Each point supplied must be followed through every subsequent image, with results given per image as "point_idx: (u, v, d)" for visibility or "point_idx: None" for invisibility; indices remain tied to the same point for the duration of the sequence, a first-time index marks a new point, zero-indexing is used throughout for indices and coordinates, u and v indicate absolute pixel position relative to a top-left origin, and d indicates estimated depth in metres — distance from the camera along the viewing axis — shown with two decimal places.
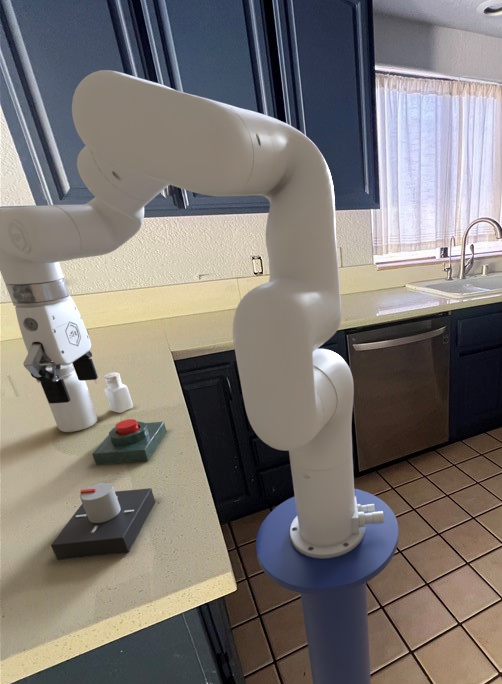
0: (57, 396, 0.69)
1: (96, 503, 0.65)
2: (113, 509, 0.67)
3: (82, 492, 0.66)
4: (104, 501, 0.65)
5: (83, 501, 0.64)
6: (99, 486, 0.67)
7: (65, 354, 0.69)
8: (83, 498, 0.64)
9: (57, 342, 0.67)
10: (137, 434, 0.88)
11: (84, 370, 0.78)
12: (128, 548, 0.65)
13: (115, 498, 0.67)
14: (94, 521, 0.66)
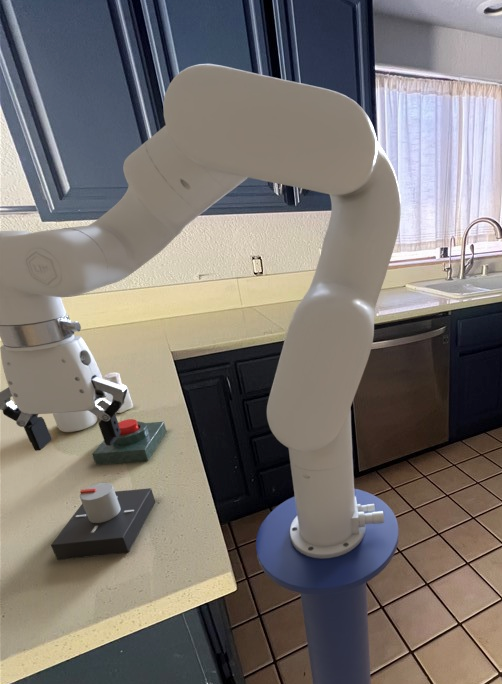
0: (119, 429, 0.64)
1: (96, 503, 0.65)
2: (113, 509, 0.67)
3: (82, 492, 0.66)
4: (104, 501, 0.65)
5: (83, 501, 0.64)
6: (99, 486, 0.67)
7: None
8: (83, 498, 0.64)
9: None
10: (137, 434, 0.88)
11: (42, 433, 0.62)
12: (128, 548, 0.65)
13: (115, 498, 0.67)
14: (94, 521, 0.66)
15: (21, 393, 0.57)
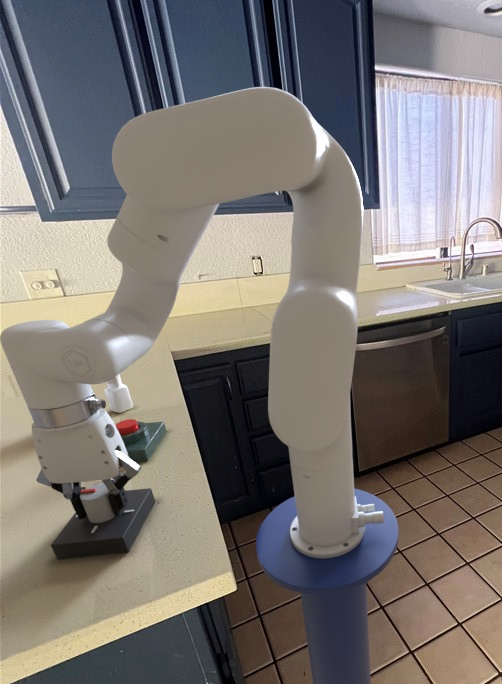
0: (127, 499, 0.68)
1: (96, 503, 0.65)
2: None
3: (82, 492, 0.66)
4: (104, 501, 0.65)
5: (83, 501, 0.64)
6: (99, 486, 0.67)
7: None
8: (83, 498, 0.64)
9: None
10: (137, 434, 0.88)
11: None
12: (128, 548, 0.65)
13: None
14: (94, 521, 0.66)
15: (50, 466, 0.61)
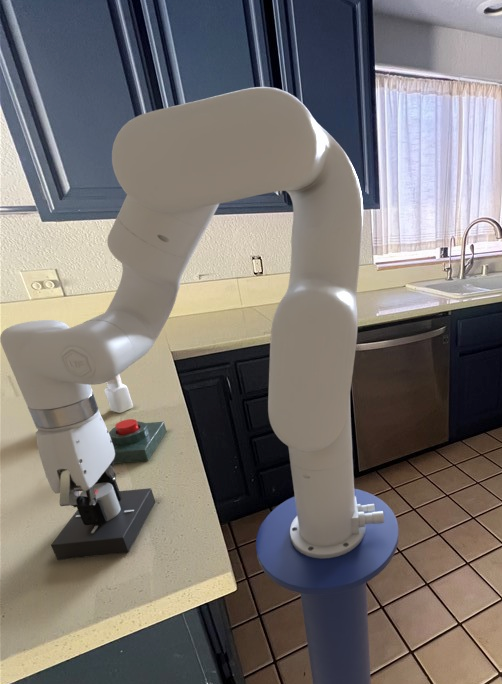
0: None
1: (114, 491, 0.67)
2: None
3: None
4: None
5: (106, 496, 0.65)
6: None
7: None
8: (104, 494, 0.65)
9: None
10: (137, 434, 0.88)
11: None
12: (128, 548, 0.65)
13: None
14: (117, 512, 0.68)
15: (88, 467, 0.61)
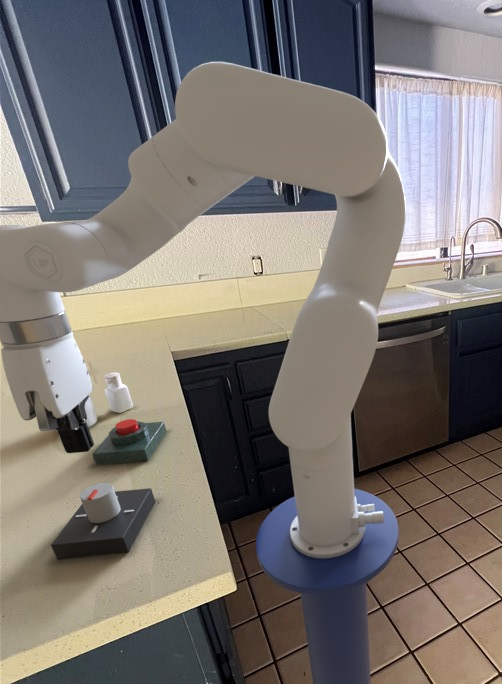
0: None
1: (114, 491, 0.67)
2: None
3: (92, 497, 0.64)
4: None
5: (106, 496, 0.65)
6: (89, 491, 0.66)
7: None
8: (104, 494, 0.65)
9: None
10: (137, 434, 0.88)
11: None
12: (128, 548, 0.65)
13: None
14: (117, 512, 0.68)
15: (60, 391, 0.56)
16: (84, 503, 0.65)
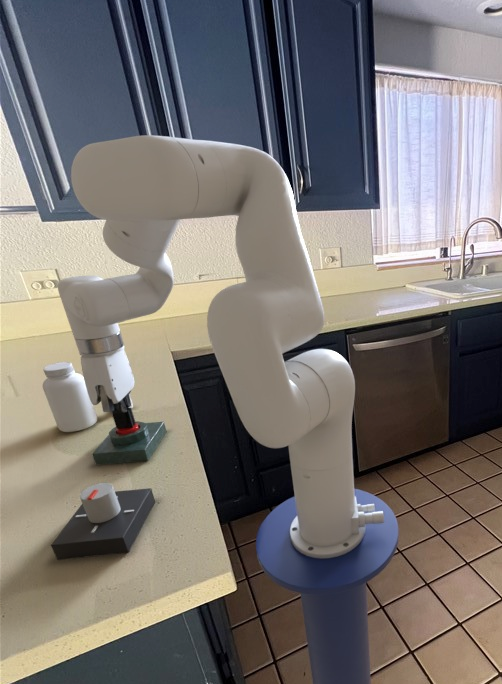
0: None
1: (114, 491, 0.67)
2: None
3: (92, 497, 0.64)
4: None
5: (106, 496, 0.65)
6: (89, 491, 0.66)
7: None
8: (104, 494, 0.65)
9: None
10: (137, 434, 0.88)
11: None
12: (128, 548, 0.65)
13: None
14: (117, 512, 0.68)
15: (117, 385, 0.82)
16: (84, 503, 0.65)
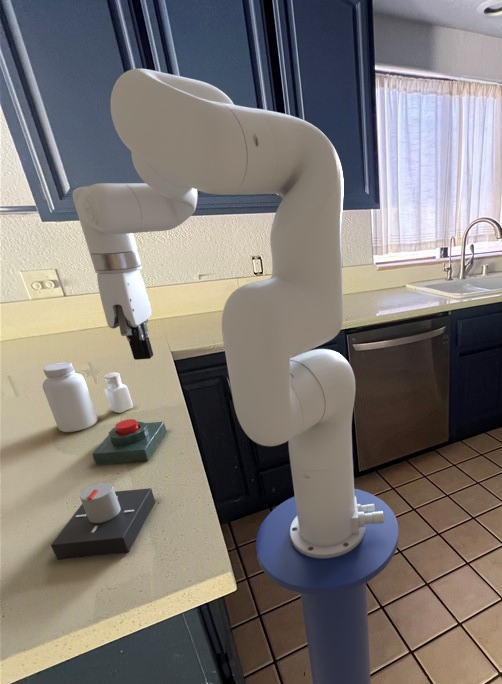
0: None
1: (114, 491, 0.67)
2: None
3: (92, 497, 0.64)
4: None
5: (106, 496, 0.65)
6: (89, 491, 0.66)
7: None
8: (104, 494, 0.65)
9: None
10: (137, 434, 0.88)
11: None
12: (128, 548, 0.65)
13: None
14: (117, 512, 0.68)
15: (135, 307, 0.78)
16: (84, 503, 0.65)
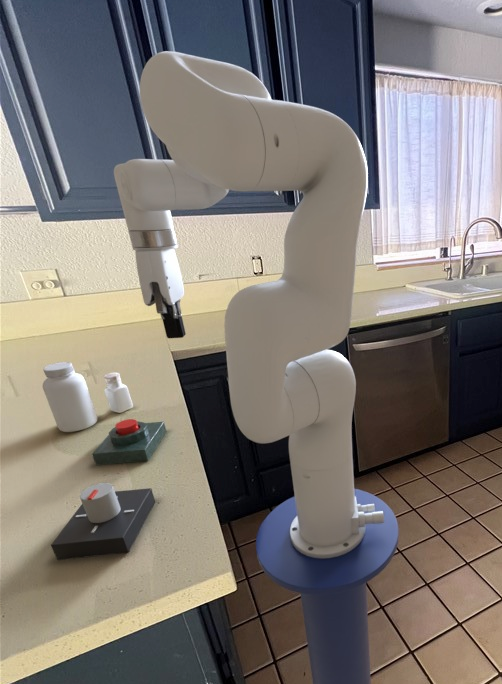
0: None
1: (114, 491, 0.67)
2: None
3: (92, 497, 0.64)
4: None
5: (106, 496, 0.65)
6: (89, 491, 0.66)
7: None
8: (104, 494, 0.65)
9: None
10: (137, 434, 0.88)
11: None
12: (128, 548, 0.65)
13: None
14: (117, 512, 0.68)
15: (171, 285, 0.79)
16: (84, 503, 0.65)
